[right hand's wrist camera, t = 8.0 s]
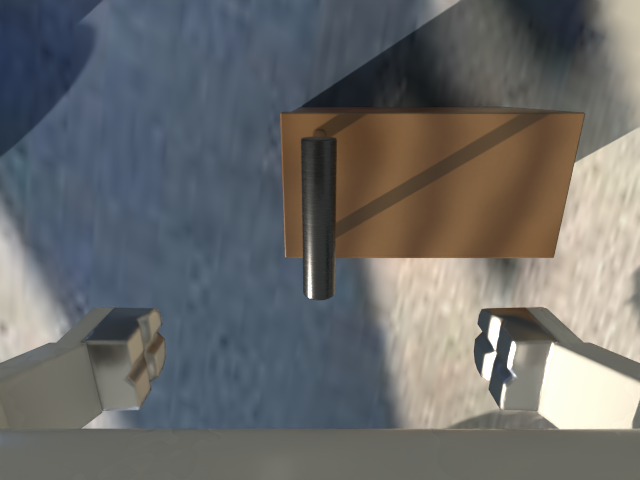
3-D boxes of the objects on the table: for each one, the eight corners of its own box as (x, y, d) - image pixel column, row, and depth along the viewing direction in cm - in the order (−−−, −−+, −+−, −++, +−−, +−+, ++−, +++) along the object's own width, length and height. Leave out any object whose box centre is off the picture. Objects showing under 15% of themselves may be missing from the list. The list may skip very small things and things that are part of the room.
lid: (286, 251, 28) (272, 315, 20) (282, 111, 25) (263, 120, 17) (544, 251, 28) (635, 315, 20) (573, 111, 25) (696, 120, 17)
